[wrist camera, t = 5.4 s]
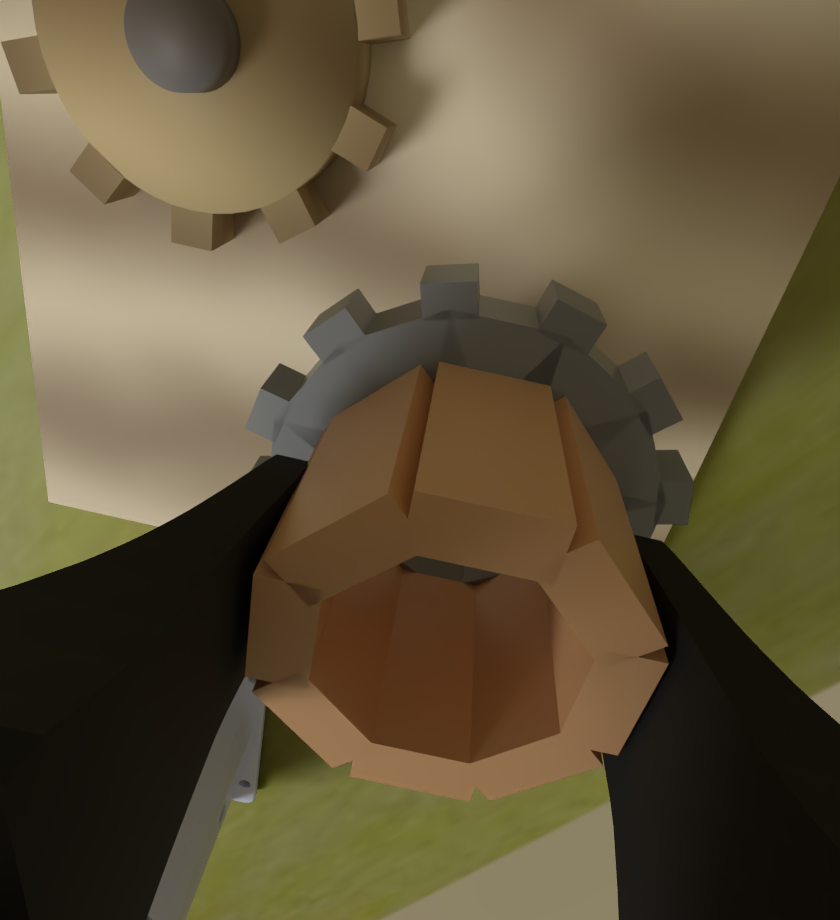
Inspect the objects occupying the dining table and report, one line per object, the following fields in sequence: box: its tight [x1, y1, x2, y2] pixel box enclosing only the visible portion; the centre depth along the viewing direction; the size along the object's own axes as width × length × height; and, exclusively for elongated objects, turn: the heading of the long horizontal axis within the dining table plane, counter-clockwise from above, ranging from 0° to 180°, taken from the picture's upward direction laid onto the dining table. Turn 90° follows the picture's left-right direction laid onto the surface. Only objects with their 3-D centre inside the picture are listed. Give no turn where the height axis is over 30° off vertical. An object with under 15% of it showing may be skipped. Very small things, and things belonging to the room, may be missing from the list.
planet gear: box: [245, 263, 694, 802], centre depth 11 cm, size 8×8×5 cm
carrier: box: [0, 0, 840, 543], centre depth 16 cm, size 20×20×4 cm
